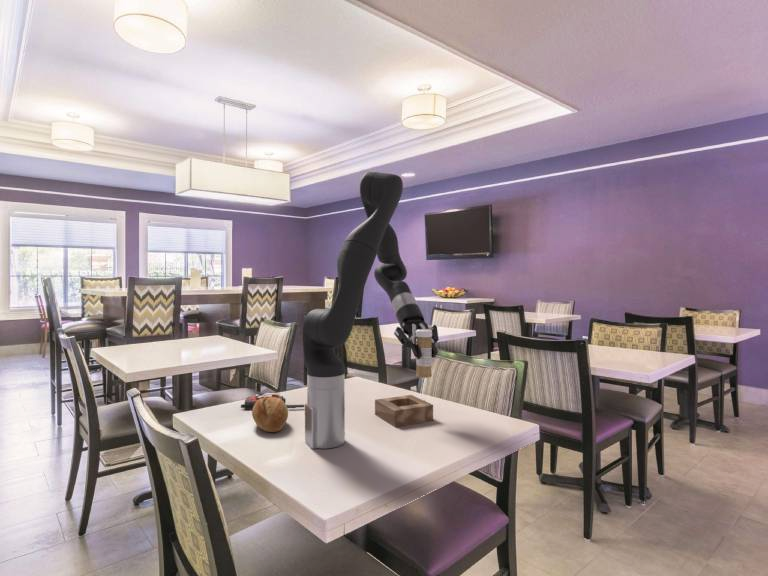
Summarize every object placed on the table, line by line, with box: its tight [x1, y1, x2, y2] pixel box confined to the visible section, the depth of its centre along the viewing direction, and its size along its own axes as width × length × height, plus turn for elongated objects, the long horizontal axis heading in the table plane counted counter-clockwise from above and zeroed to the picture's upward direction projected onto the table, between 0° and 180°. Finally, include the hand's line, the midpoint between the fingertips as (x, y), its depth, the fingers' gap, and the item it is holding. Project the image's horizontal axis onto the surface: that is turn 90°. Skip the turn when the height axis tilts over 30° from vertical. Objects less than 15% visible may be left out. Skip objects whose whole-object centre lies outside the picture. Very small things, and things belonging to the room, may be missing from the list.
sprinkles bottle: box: [415, 329, 433, 379], centre depth 127 cm, size 5×5×14 cm
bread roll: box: [251, 397, 289, 433], centre depth 123 cm, size 10×15×8 cm, turn 21°
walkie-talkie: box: [240, 392, 305, 410], centre depth 142 cm, size 9×4×20 cm
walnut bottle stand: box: [374, 394, 434, 428], centre depth 131 cm, size 13×13×4 cm
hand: (427, 356), depth 125 cm, fingers closed on sprinkles bottle, 4 cm apart
